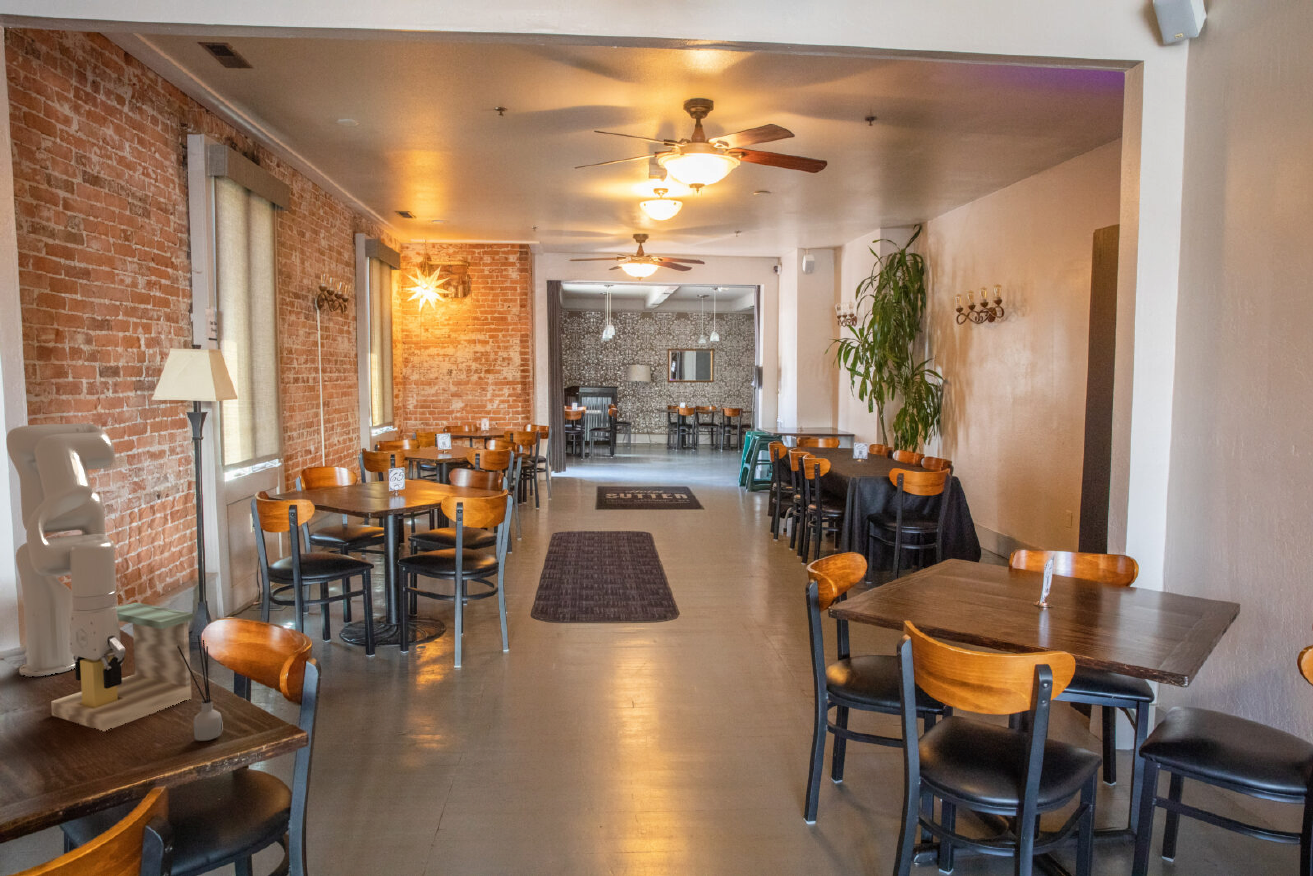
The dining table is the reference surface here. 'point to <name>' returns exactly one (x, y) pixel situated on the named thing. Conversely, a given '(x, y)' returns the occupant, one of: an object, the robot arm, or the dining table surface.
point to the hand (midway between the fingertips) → (98, 682)
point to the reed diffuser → (205, 707)
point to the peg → (95, 684)
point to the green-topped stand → (142, 671)
